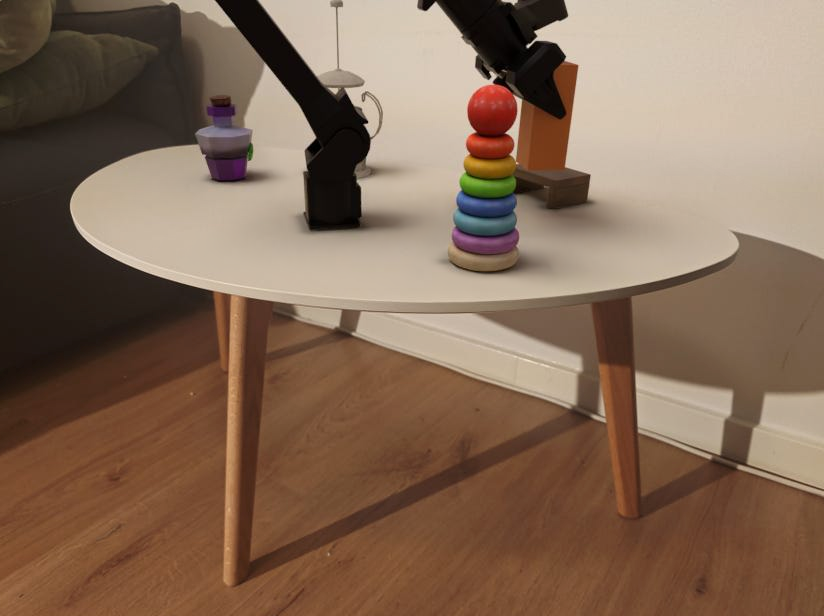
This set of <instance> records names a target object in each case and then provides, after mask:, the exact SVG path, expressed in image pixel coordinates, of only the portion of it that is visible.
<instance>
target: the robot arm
mask: <svg viewBox="0 0 824 616" xmlns="http://www.w3.org/2000/svg"><path fill="white" fill-rule="evenodd" d="M214 1H215V3H216V4H217V5H218V6H219V7H220V9H221V10H222V11H223V13H224V14H225V15H226V16H227V18H228V19H229V20H230V21H231V23H232V24H233V25H234V26H235V27H236V28H237V30H238V31H239V33H240V34H241V35H242V36H243V38H244V39H245V40H246V41H247V42H248V44H249V45H250V46H251V47H252V49H253V50H254V51H255V53H257V55H258V56H259V57H260V58H261V60H262V61H263V63H265V64H266V66H267V67H268V68H269V70H270V71H271V72H272V74H273V75H274V76H275V77H276V78H277V80H278V81H279V82H280V84H281V85H282V86H283V88H285V90H286V91H287V92H288V93H289V95H290V96H291V98H292V99H293V100H294V101H295V102H296V103H297V105H298V106H299V108H300V110H301V112H302V113H303V116H304V117H305V120H307V123H308V125H309V127H310V129H311V131H312V133H313V135H314V136H315V138H314V139H313V141H311V143H310V144H309V145H308V146H307V147H306V148H305V149H304V158H305V165H306V170H304V171H303V172H302V174H303V175H302V176H303V192H304V193H303V194H304V211H303V212H302V214H303V218H304V220H305V223H306V225H307V227H308V230H310V231H311V230H312V231H313V230H316V231H317V230H330V229H348V228H349V229H350V228H360V227H361V221H360V220H361V219H362V215H363V213H362V212H363V211H362V186H361V185H360V184H359V183H358V180H357V179H358V178H357V175H356V174H355V173H354V171H355V168H356V165H357V164H359V163H361V162H362V161H363V160H364V159H365V158H366V159H367V157H368V155H369V152H370V150H371V145H372V144H371V143H372V140H371V138H370V137H371V134H370V133H369V130H368V129H367V127H366V125H368V124H369V120H368V118H367V116H366V115H365V113H364V111H363V110H362V111H361V110H359V109H358V108H356V107H355V106H356V105H355V104H354V103H353V102H352V100H351V98H350V96H349V94H348V93H347V90H346V88H344V87H341V88H340V90H339V91H338V90H337V92H333V91H332V90H331V88H327V87H326V86H325V85H324V84H323V83H322V82H321V81H320V80H319V79H318V77H317V76H318V75H317V74H316V73H315V72H314V70H313V69H312V68H311V67H310V66H309V64H308V63H307V61H306V60H305V59H304V58H303V56H302V55H301V54H300V52H298V50H297V49H296V47H295V46H294V45H293V44H292V42H291V41H290V39H289V38H288V37H287V36H286V34H285V33H284V32H283V30H282V29H281V28H280V27H279V25H278V24H277V22H276V21H275V20H274V18H273V17H272V16H271V15H270V14H269V12H268V11H267V10H266V8H265V7H264V5H262V3H261V1H259V0H214ZM434 4H436V5H438V7H439V8H440V10H441V11H442V12H443V13H444V14H445V15H446V17H447V18H448V19H449V20H450V22H451V23H452V24H453V26H454V27H455V28H456V29H457V30H458V31H459V33H460V34H461V36H460V38H461V39H462V40H463V41H464V43H465V44H466V45H469V46H471V48H472V49H473V50H474V51H475V52H476V54H477V55H476V56H475V61H474V68H475V69H476V71H477V72H478V73H479V74H480V75H481V76H482V78H483V79H484V80H487V81H490V80H491V79H492V78H493V75H494V76H495V78H493V80H492V85H500V86H503V87H505V88H507V89H508V90H509V91H510V92H511V93H512V94H513V95H514V97H516V98H518V99H520V100H522V99H523V100H525V101H527V102H529V103H530V104H532V105H534V106H536V107H538V108H540V109H541V110H543V111H545V112H547V113H549V114H550V115H552V116H554V117H556V118H558V119H560V120H561V119H562V118H563V117H565V116H566V114H567V112H566V110H565V107H564V105H563V102H562V99H561V97H560V94H559V92H558V89H557V87H556V84H555V81H554V77H553V75H554V71H555V70H556V69H557V68H558V67H559V66H560V65H561V64H562V63H563V62H564V61H566V59H567V55H566V54H565V53H564V50H562V48H561V47H560V45H559V44H558V43H557V42H553V41H549V40H536V39H537V38H538V34H537V33H536V32H537V31H539V30H541V29H543V28H545V27H547V26H550V25H551V24H553V23H555V22H562V21H563V20H566V19H567V18H568V17H569V12H568V8H567V5H566V1H565V0H517V1H516V2H515V3H514V4H513V3H512V2H511V1H503V0H417V4H416V7H417V10H419V11H422V12H428V11H429V10H430V8H432V7H433V5H434ZM528 45H530V46H529V47H528ZM491 73H493V75H492V74H491Z"/></svg>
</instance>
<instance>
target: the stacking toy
mask: <svg viewBox="0 0 824 616" xmlns="http://www.w3.org/2000/svg"><path fill="white" fill-rule="evenodd" d="M515 97H516V96H515V95H513V94H512V93H511V92H510V91H509V90H508V89H507V88H505V87H503V86H500V85H494V84H486V85H483V86H481V87H479V88H478V89H477V90H475V91H474V93H472V95H471V97H470V99H469V100H468V103H467V107H466V109H467V110H466V114H467V119H468V122H469V125H470V126H471V128H472V129H473V130H474V131H475V132H473V133H471V134H469V135H468V137H467V138H466V141H465V148H466V150H467V152H468V153H469V154H467V155H466V156H465V158H464V160H463V169H464V172H462V174H461V176H460V178H459V187H460V189H461V190H460V191H459V192H458V193H457V195H456V199H455V201H456V206H457V208H456V209H455V211H454V212H453V216H452V220H453V224H454V227H453V228H452V231H451V240H452V242H451V243H450V244H449V246H448V248H447V256H448V259H449V260H450V261H451V262H452V263H453V264H454V265H456V266H457V267H459V268H462V269H466V270H470V271H476V272H497V271H502V270H506V269H509V268H511V267H513V266H514V265H515V264H516V263H517V262H518V260H519V257H520V250H519V247H518V245H519V241H520V232H519V230H518V229H517V228H516V226H517V223H518V216H517V214H516V212H515V209H516V208H517V204H518V199H517V197H516V195H515V193H513V191H514V190H515V187H516V179H515V177H514V176H513V175H512V174H513V173H514V171H515V169H516V164H517V162H516V158H515V157H513V156H512V155H511V154H512V152H513V151H514V150H515V140H514V138H513V137H512V136H511V135H510V134H508V133H507V132H509V131H510V129H512V127H513V125H514V124H515V122H516V120H517V117H518V102H517V99H516V98H515Z"/></svg>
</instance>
